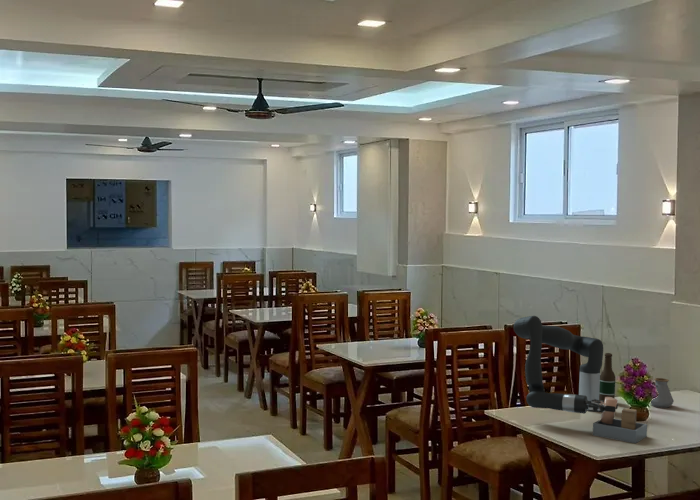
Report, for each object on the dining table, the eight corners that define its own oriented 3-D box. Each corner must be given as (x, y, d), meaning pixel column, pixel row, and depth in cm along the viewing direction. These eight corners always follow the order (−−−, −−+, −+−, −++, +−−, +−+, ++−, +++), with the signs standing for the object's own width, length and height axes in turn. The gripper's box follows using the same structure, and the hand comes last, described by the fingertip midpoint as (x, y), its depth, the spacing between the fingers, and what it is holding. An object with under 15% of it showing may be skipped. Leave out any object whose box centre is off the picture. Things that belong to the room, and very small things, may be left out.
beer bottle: (617, 402, 398) (619, 353, 397) (610, 405, 393) (612, 355, 391) (602, 399, 403) (604, 351, 402) (595, 402, 398) (597, 353, 397)
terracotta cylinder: (603, 418, 345) (608, 396, 344) (614, 422, 342) (619, 400, 340) (598, 420, 341) (602, 397, 340) (609, 424, 338) (614, 401, 337)
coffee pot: (660, 402, 401) (661, 371, 400) (678, 407, 391) (680, 376, 390) (627, 405, 392) (628, 374, 391) (645, 411, 382) (646, 379, 381)
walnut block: (622, 432, 339) (623, 408, 339) (635, 433, 337) (636, 409, 336) (620, 434, 335) (621, 410, 334) (633, 436, 332) (634, 412, 332)
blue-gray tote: (604, 428, 349) (605, 417, 348) (646, 436, 338) (647, 424, 338) (592, 435, 338) (593, 423, 337) (635, 443, 327) (636, 431, 327)
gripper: (571, 397, 341) (613, 402, 333) (578, 391, 353) (619, 395, 346) (571, 415, 341) (613, 420, 333) (578, 408, 354) (619, 413, 346)
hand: (616, 407), depth 340 cm, fingers closed on terracotta cylinder, 5 cm apart
